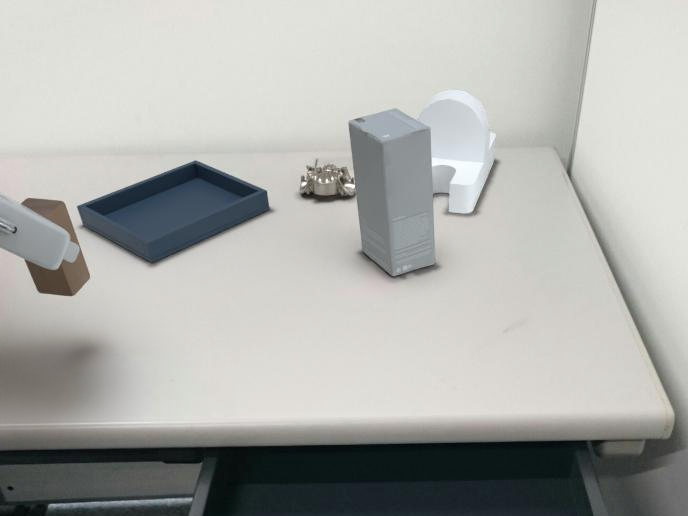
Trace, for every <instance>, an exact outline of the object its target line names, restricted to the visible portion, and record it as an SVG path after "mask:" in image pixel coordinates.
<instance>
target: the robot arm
mask: <svg viewBox="0 0 688 516" xmlns="http://www.w3.org/2000/svg"><path fill="white" fill-rule="evenodd" d="M80 248H81V247H80ZM80 248H79V246H78V245H77V244H75V243H73V242H72V241H70V234H69V233H68V232H67V231H66V230H64V229H63V228H61V227H60V226H58V225H56V224H55V223H53V222H51V221H49V220H48V219H46V218H44V217H43V216H41V215H39V214H37V213H36V212H34V211H32V210H31V209H29V208H27V207H25V206H24V205H22V204H21V202H19V201H17V200H16V199H14V198H12V197H10V196H9V195H7V194H5V193H3V192H1V191H0V249H2V250H4V251H5V252H8V253H10V254H12V255H14V256H16V257H19V258H21V259H26V260H28V261H30V262H32V263H34V264H37V265H39V266H41V267H44V268H46V269H50V270H56V269H58V268H59V266H60V264H61V262H62V260H63V259H64V260H66V261H68V262H70V263H71V262H74V261H76V258H77V256H78V253H79V251H80Z"/></svg>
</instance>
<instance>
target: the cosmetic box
mask: <svg viewBox="0 0 688 516" xmlns="http://www.w3.org/2000/svg"><path fill="white" fill-rule="evenodd" d="M348 132H349V142H350V151H351V160H352V168H353V177H354V178H355V187H356V188H355V195H356V196H355V197H356V204H357V213H358V223H359V230H360V231H359V233H360V241H361V252H362V253H364V254H365V255H366V256H368V257H369V259H371V260H372V261H373V262H375V263H376V264H377V265H378V266H379V267H381V269H383V270H384V271H385V272H386V273H388V274H389V275H390V276H392V277H396V276H399V275H400V276H401V275H403V274H405V273H409V272H411V271H415V270H418V269H422V268H425V267H429V266H433V265H435V264H436V242H435V239H436V238H435V213H434V212H435V211H434V194H433V184H432V157H431V128H430V127H428V126H426V125H424V124H423V123H421V122H419V121H417V119H415V118H413V117H412V116H410V115H408V114H407V113H405V112H402V110H400V109H398V108H397V107H395V108H391V109H387V110H383V111H379V112H376V113H373V114H368V115H365V116H361V117H357V118H353V119H349V120H348Z"/></svg>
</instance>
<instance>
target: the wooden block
mask: <svg viewBox="0 0 688 516" xmlns="http://www.w3.org/2000/svg"><path fill="white" fill-rule="evenodd" d="M20 204H22V205H24V206H25V207H27V208H29V209H31V210H32V211H34V212H36V213H37V214H39V215H41V216H43V217H44V218H46V219H48V220H49V221H51V222H53V223H55V224H56V225H58V226H60V227H61V228H63V229H64V230H66V231H67V232H68V233H69V234H70V241H72V242H73V243H75V244H77V245H78V246H79V248H80V251H79V253H78V256H77V258H76V261H74V262H71V263H70V262H68V261H66V260H64V259H63V260H62V262H61V264H60V266H59V268H58V269H56V270H50V269H46V268H44V267H41V266H39V265H37V264H34V263H32V262H30V261H28V260H26V259H24V262H25V264H26V267H27V270H28V273H29V274H30V276H31V279H32V281H33V284H34V286H35V288H36V291H37V292H38V293H39V294H44V295H54V296H63V297H74V296H76V294H78V293H79V292H80V291H81V289H82V288H83V287H84V286H85V285H86V284H87V283H88V282H89V280H91V274H90V271H89V267H88V265H87V262H86V259H85V257H84V253H83V250H82V247H81V245H80V242H79V239H78V236H77V234H76V231H75V227H74V225H73V222H72V219H71V216H70V214H69V211H68V208H67V204H66V203H65V201H63V200H58V199H49V198H48V199H45V198H37V197H27V198H25V199H24V200H23V201H22V202H20Z"/></svg>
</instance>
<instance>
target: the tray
mask: <svg viewBox="0 0 688 516" xmlns="http://www.w3.org/2000/svg"><path fill="white" fill-rule="evenodd" d="M268 195H269V194H268V190H266V189H264V188H262V187H259V186H258V185H254V184H252V183H250V182H248V181H246V180H243V179H242V178H238V177H237V176H235V175H231V174H229V173H227V172H224V171H222V170H220V169H218V168H215V167H212V166H210V165H208V164H206V163H204V162H201V161H198V160H196V159H195V160H193V161H190V162H188V163H185V164H182V165H180V166H177V167H175V168H172V169H169V170H167V171H164V172H162V173H159V174H156V175H154V176H151V177H148V178H146V179H143V180H141V181H138V182H136V183H132V184H131V185H128V186H125V187H123V188H119V189H118V190H115V191H112V192H109V193H107V194H105V195H102V196H99V197H97V198H93V199H92V200H89V201H87V202H83V203H82V204H79V205H76V208H77V211H78V215H79V217H80V220H81V224H82V226H84V227H86V228H87V229H89V230H91V231H93V232H94V233H96V234H98V235H100V236H102V237H104V238H106V239H107V240H109V241H110V242H113V243H114V244H116V245H119V246H120V247H122V248H124V249H125V250H127V251H129V252H131V253H133V254H135V255H136V256H138V257H140V258H142V259H144V260H146V261H147V262H149V263H151V264H154V263H155V262H158V261H160V260H163V259H164V258H167V257H169V256H171V255H173V254H176V253H177V252H180V251H182V250H184V249H186V248H188V247H190V246H193V245H195V244H197V243H200V242H202V241H204V240H206V239H208V238H211V237H213V236H215V235H217V234H219V233H221V232H224V231H226V230H228V229H230V228H232V227H235V226H237V225H239V224H241V223H244V222H245V221H248V220H250V219H252V218H255V217H256V216H259V215H261V214H264V213H265V212H268V211H270V209H271V208H270V202H269V196H268Z"/></svg>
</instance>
